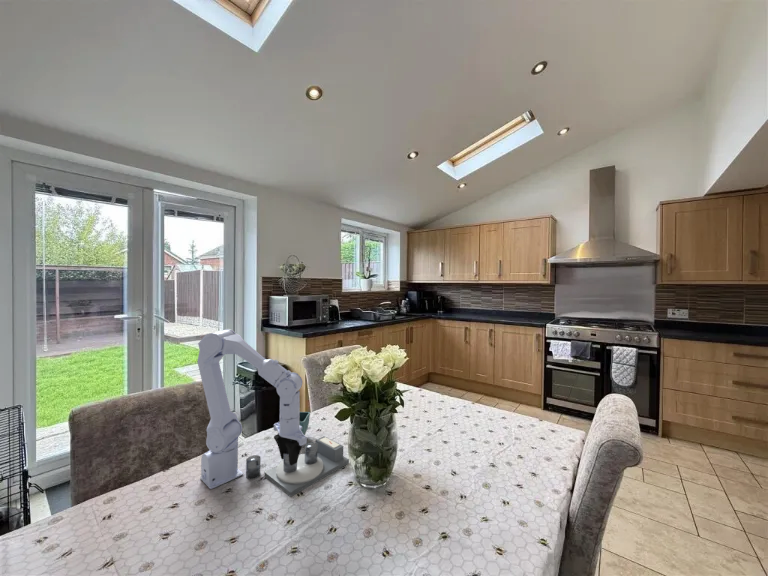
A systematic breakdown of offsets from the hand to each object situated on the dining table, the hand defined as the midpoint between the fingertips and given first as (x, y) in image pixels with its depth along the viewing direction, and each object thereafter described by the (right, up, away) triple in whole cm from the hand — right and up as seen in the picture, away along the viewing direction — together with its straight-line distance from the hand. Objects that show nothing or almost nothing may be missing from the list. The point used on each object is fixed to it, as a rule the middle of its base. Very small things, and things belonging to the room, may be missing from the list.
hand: (289, 460), depth 94 cm
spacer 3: (+5, -4, +6) cm, 9 cm away
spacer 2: (0, -3, 0) cm, 3 cm away
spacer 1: (-12, -6, +2) cm, 13 cm away
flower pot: (-5, -6, +24) cm, 25 cm away
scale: (+4, -6, +5) cm, 9 cm away
